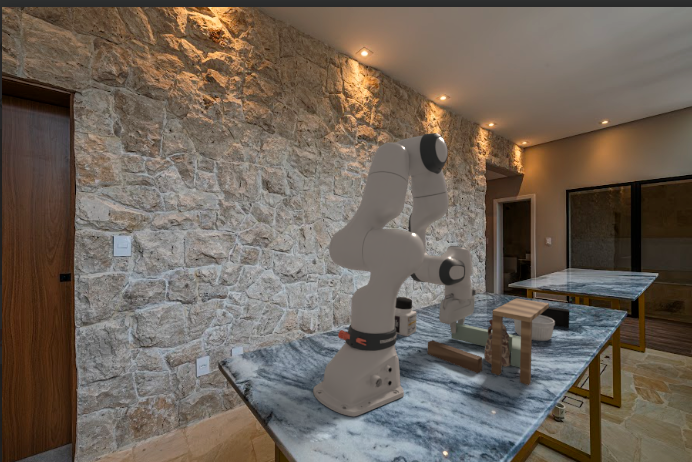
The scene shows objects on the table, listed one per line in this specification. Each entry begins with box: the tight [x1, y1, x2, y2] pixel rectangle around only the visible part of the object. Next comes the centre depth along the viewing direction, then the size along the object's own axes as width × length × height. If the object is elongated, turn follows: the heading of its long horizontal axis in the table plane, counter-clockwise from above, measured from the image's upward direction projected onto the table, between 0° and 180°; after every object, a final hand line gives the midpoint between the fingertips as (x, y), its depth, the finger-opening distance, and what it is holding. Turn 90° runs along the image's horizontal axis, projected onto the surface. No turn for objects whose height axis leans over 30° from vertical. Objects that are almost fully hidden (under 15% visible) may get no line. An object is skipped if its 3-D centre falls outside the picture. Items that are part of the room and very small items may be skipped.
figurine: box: [483, 318, 511, 368], centre depth 89 cm, size 7×7×12 cm
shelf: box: [490, 297, 550, 386], centre depth 86 cm, size 22×9×17 cm, turn 135°
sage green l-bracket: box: [451, 322, 521, 368], centre depth 96 cm, size 13×21×5 cm, turn 60°
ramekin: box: [513, 315, 555, 342], centre depth 112 cm, size 13×13×7 cm
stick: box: [427, 340, 483, 374], centre depth 88 cm, size 3×16×4 cm, turn 40°
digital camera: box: [540, 306, 570, 329], centre depth 127 cm, size 10×5×7 cm, turn 58°
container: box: [394, 296, 417, 337], centre depth 114 cm, size 8×8×13 cm
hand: (456, 331), depth 105 cm, fingers closed on sage green l-bracket, 3 cm apart
